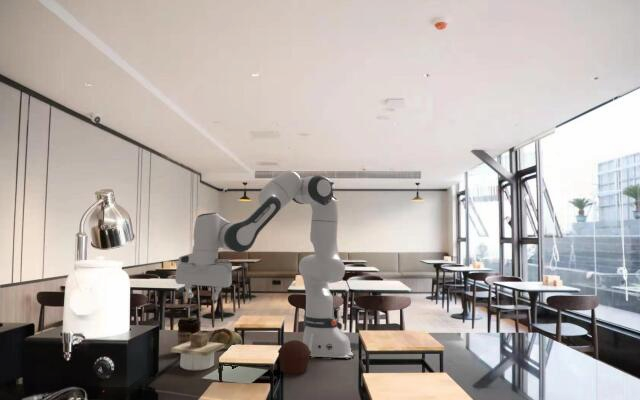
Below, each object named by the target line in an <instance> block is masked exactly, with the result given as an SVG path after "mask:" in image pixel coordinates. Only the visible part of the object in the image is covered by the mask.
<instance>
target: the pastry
mask: <svg viewBox="0 0 640 400" xmlns="http://www.w3.org/2000/svg"><path fill="white" fill-rule="evenodd" d="M207 342H213V343H222V344H225V346H224V348H222V349H220V350H219V351H221V350H222V351H225V350H226V351H228V350H227V349H228V348H229V347H230V346H231V345H235V344H242V345H243V339H242V336H241V335H240V334H239V333H237V332H236V331H233V330H231V329H229V328H224V327H223V328H218V329H214V330H213V331H212V332H211V333H210V335H209V337H208V340H207Z"/></svg>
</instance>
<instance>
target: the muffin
mask: <svg viewBox="0 0 640 400" xmlns="http://www.w3.org/2000/svg"><path fill="white" fill-rule="evenodd" d="M277 353H279V354H278V361H279V372H282V373H284V374H288V375H301V374H305V373H307V369H308V364H309V358H310V357H309V356H310V354H311V351H310V350H309V348H308V346H307V345H306V344H304V343H303V341H301V340H295V339H294V340H288V341H286V342H284V343H283V344H282V345H281V346H280V347H279V349H278V351H277Z"/></svg>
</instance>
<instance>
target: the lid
mask: <svg viewBox="0 0 640 400" xmlns="http://www.w3.org/2000/svg"><path fill="white" fill-rule="evenodd" d="M208 335H209V334H208V333H207V332H197V333H194V334H191V341H188V342H186V343H183V344H181V345H178V344H177V345H176V346H173V347H171V348H170V353H176V354H177V353H178V354H179V353H183V354H192V355H201V356H208V355H210V354H212V353H214V352H215V353H216V352H218V351H221V350H220V349H222V348H224V346H225V344H222V343H213V342H208Z"/></svg>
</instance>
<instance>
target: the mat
mask: <svg viewBox="0 0 640 400" xmlns="http://www.w3.org/2000/svg"><path fill="white" fill-rule="evenodd" d="M222 366H223V371H222V381H220V380H219V373H218V368H217V369H214V371H211V372H210V373H208V374H206V375H204V376H202V379H204V380H205V379H206V380H214V381H219V382H227V383H236V384H242V383H251V384H252V383H253V382H255V381H256V380H258V378H260V377H262V376H263V375H264V374H265V373H267V372H268V371H269V369H263V368H256V367H247V366H239V365H237V366H238V367H236V368H234V369H232V367H231V366H224V365H222Z"/></svg>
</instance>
